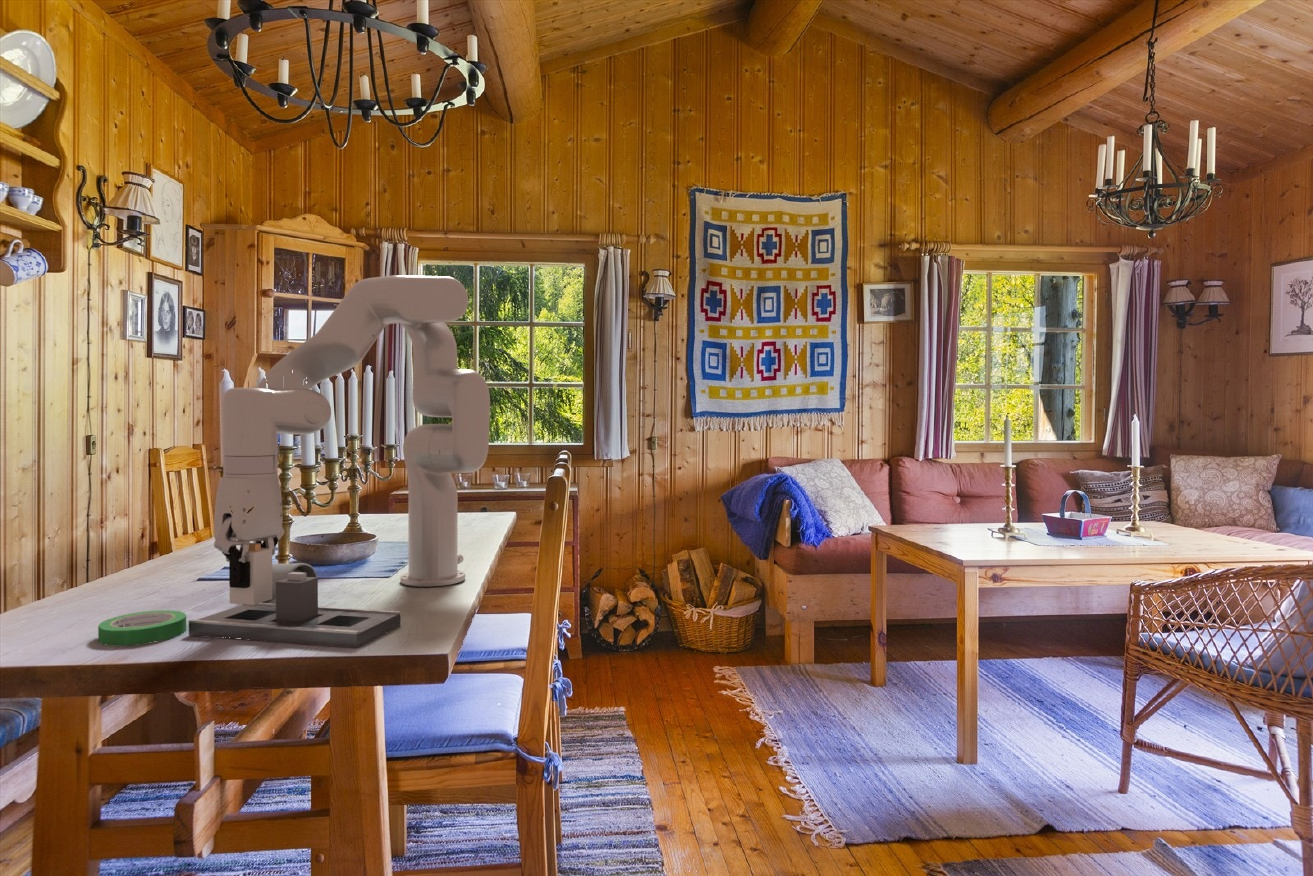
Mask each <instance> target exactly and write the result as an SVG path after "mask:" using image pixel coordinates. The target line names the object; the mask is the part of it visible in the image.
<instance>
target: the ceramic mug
mask: <svg viewBox="0 0 1313 876" xmlns="http://www.w3.org/2000/svg"><path fill="white" fill-rule="evenodd" d="M291 572H302V573H306V577H318V575H317V572H316V570H315V568H314V567H313V566H312V565H310V564H309V563H306V562H298V563H297V562H296V563H295V562H294V563H272V599H270V600H267V601H264V602H261V603H271V604H276V582H277V581H280V580H283V579H286V578H288V573H291Z"/></svg>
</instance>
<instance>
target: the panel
mask: <svg viewBox="0 0 1313 876" xmlns="http://www.w3.org/2000/svg"><path fill="white" fill-rule="evenodd" d="M397 627H398V628H399V627H401V611H395V610H382V609H380V610H379V609H368V608H367V609H366V608H364V609H362V608H351V607H350V608H349V607H348V608H346V607H331V606H319V605H318V617H317V618H315V619H312V620H310V621H307V622H305V623H302V624H299V623H284V622H276V604H271V603H258V604H255V605H246V604H239V605H238V606H235V607H232V608H229V609H228V608H227V609H225V610H222V611H219V612H216V613H214V614H210V615H207V616H204V617H201V618H198V619H189V620H188V636H189V637H199V636H209V637H208V638H213V637H221V638H220V639H227V638H229V637H230V638H241V639H249V640H248V641H254V640H255V642H268V641H269V643H283V644H294V645H295V644H297V645H308V646H309V645H311V646H325V647H336V648H337V647H338V648H350V649H351V648H352V649H357V648H360V647H362V646H363V645H366V644H368V643H370V642H371V641H374V640H375V638H376V639H377V637H378V638H379V636H380V637H381V636H384V635H385V633H386V632H388V633H390V632H391V631H394V630H395V628H396V629H397ZM393 629H394V630H393ZM383 634H384V635H383ZM386 634H387V633H386ZM222 637H224V638H222ZM225 637H226V638H225Z"/></svg>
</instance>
